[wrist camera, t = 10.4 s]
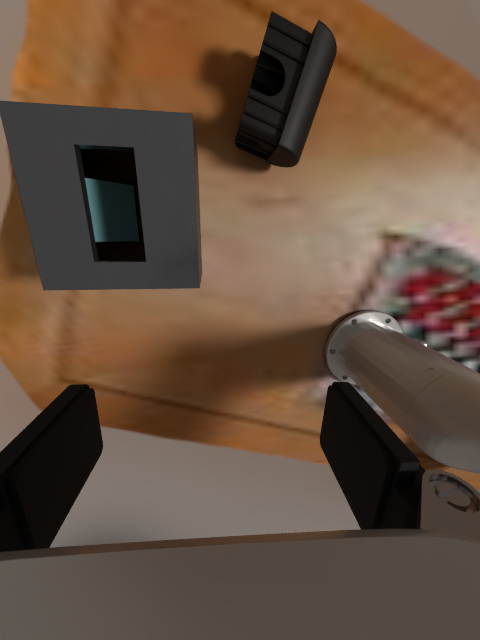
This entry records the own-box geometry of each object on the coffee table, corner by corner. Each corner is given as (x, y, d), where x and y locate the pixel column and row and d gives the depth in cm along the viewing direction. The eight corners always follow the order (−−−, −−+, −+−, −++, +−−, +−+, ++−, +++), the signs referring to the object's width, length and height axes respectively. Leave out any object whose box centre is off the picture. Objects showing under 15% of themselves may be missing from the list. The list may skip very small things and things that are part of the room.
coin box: (197, 151, 29) (192, 113, 20) (202, 273, 34) (199, 288, 24) (68, 145, 28) (-4, 100, 18) (91, 273, 32) (43, 290, 23)
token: (139, 241, 30) (133, 185, 28) (85, 241, 26) (73, 176, 24) (130, 240, 32) (124, 187, 30) (77, 241, 27) (66, 178, 25)
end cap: (286, 173, 31) (306, 158, 25) (232, 150, 30) (238, 128, 23) (318, 79, 29) (350, 35, 22) (260, 49, 27) (276, -8, 21)
